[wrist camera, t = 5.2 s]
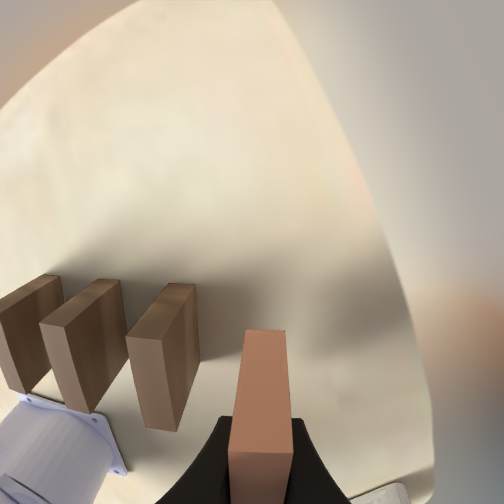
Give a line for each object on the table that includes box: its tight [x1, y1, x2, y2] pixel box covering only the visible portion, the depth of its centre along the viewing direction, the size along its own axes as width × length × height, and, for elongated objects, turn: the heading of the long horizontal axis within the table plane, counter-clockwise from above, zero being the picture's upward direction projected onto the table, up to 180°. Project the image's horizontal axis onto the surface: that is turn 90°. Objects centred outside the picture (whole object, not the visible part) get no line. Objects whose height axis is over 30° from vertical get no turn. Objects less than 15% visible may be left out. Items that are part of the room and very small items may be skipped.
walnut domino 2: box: [39, 279, 129, 415], centre depth 15 cm, size 2×5×6 cm, turn 179°
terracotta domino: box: [228, 329, 293, 504], centre depth 10 cm, size 2×5×6 cm, turn 179°
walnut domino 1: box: [0, 275, 64, 395], centre depth 15 cm, size 2×5×6 cm, turn 0°
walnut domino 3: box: [125, 283, 200, 432], centre depth 15 cm, size 2×5×6 cm, turn 179°
